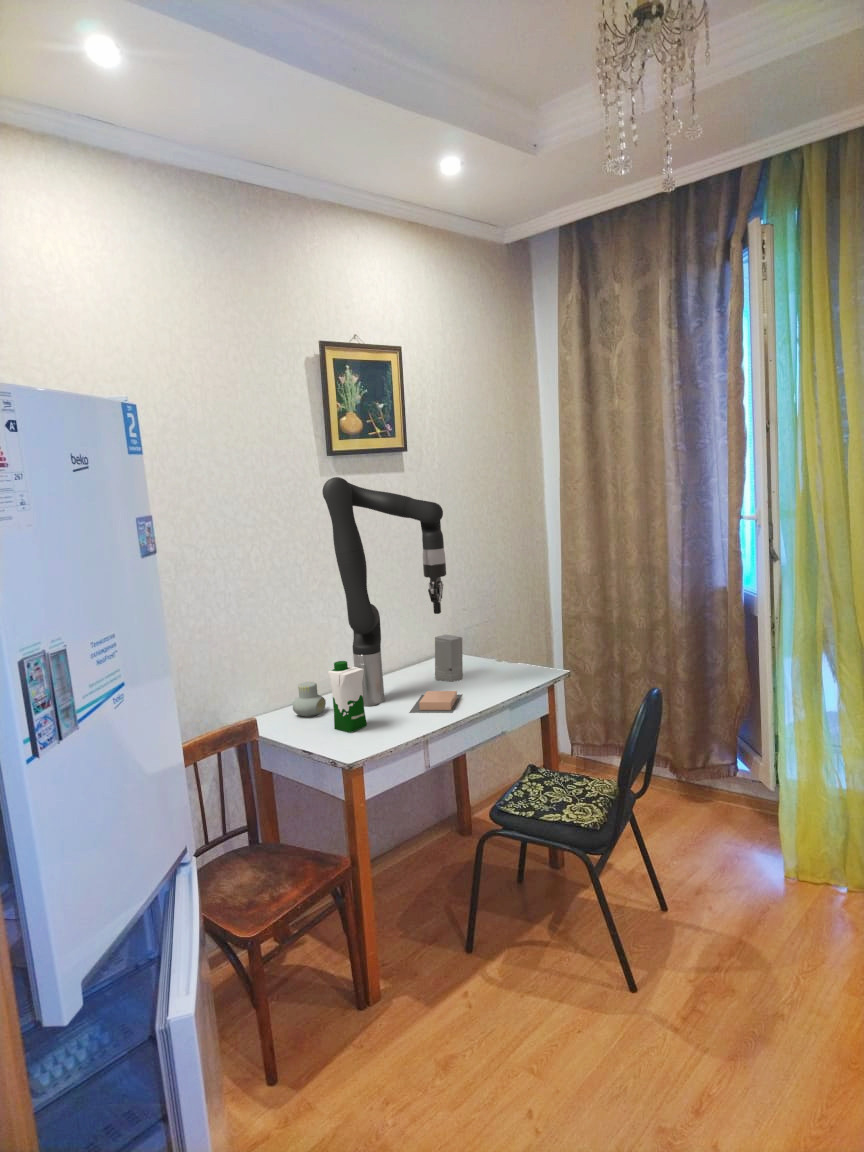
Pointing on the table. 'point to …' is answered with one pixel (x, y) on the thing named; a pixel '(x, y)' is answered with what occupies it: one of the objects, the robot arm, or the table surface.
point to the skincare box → (448, 658)
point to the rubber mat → (417, 710)
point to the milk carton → (347, 697)
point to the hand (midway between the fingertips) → (437, 613)
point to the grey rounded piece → (308, 700)
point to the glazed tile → (438, 700)
